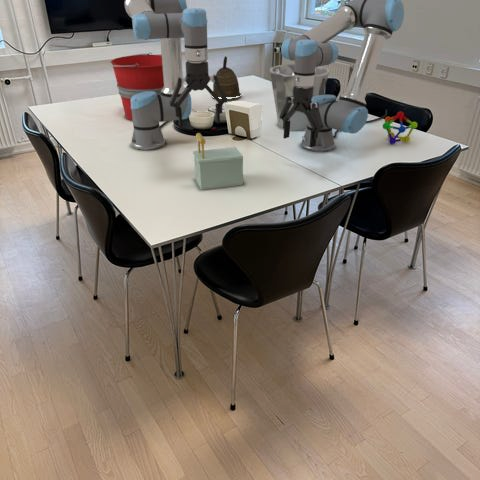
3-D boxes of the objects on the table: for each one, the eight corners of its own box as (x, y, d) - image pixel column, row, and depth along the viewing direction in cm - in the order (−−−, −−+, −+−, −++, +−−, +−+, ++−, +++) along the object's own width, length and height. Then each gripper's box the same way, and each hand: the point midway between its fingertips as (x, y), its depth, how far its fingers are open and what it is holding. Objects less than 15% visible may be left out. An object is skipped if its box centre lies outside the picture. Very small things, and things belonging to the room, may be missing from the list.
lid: (198, 163, 160) (197, 141, 156) (192, 153, 168) (191, 132, 164) (243, 158, 164) (243, 136, 160) (235, 149, 173) (235, 128, 168)
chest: (201, 190, 166) (199, 163, 160) (195, 179, 174) (194, 153, 168) (242, 184, 170) (243, 158, 164) (235, 174, 178) (235, 149, 173)
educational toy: (377, 146, 209) (379, 114, 202) (384, 138, 219) (386, 107, 211) (411, 149, 202) (415, 116, 195) (417, 141, 212) (420, 109, 204)
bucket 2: (296, 138, 215) (301, 78, 201) (255, 124, 234) (256, 68, 219) (335, 125, 232) (342, 70, 217) (294, 113, 251) (297, 61, 236)
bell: (227, 105, 294) (202, 96, 282) (238, 66, 289) (213, 55, 277) (243, 108, 280) (217, 98, 268) (255, 66, 275) (229, 55, 263)
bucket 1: (124, 106, 262) (117, 51, 246) (183, 106, 262) (180, 52, 246) (108, 124, 233) (99, 63, 217) (174, 124, 232) (170, 64, 216)
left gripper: (160, 65, 141) (166, 130, 152) (235, 61, 147) (235, 124, 158) (157, 60, 147) (163, 124, 158) (229, 57, 153) (230, 118, 164)
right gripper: (271, 81, 168) (269, 136, 179) (323, 94, 152) (317, 152, 163) (285, 78, 172) (282, 132, 183) (337, 90, 156) (330, 148, 168)
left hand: (199, 124), depth 158 cm, fingers open, 13 cm apart
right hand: (299, 142), depth 173 cm, fingers open, 13 cm apart
